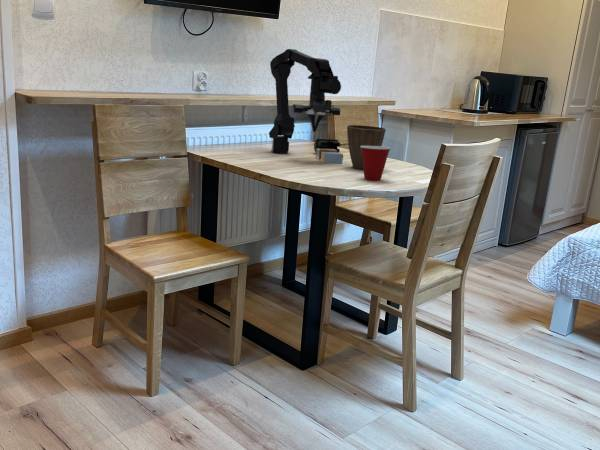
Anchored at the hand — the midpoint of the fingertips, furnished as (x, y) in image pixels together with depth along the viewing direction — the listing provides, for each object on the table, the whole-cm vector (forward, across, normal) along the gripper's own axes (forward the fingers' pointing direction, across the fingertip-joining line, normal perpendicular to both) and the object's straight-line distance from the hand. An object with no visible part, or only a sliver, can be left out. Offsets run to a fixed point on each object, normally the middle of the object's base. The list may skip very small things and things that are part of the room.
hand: (314, 131), depth 236 cm
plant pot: (+12, +18, -12) cm, 25 cm away
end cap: (+12, +11, +19) cm, 25 cm away
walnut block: (+10, +4, +7) cm, 13 cm away
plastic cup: (+12, +15, -34) cm, 39 cm away
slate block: (+10, +4, -2) cm, 11 cm away
